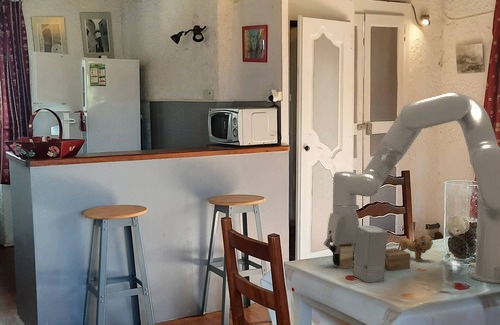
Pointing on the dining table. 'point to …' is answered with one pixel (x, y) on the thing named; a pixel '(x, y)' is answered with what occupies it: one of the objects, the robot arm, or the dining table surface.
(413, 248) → the lion figurine
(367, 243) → the skincare box
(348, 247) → the oak block
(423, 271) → the dining table surface
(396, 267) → the walnut block
